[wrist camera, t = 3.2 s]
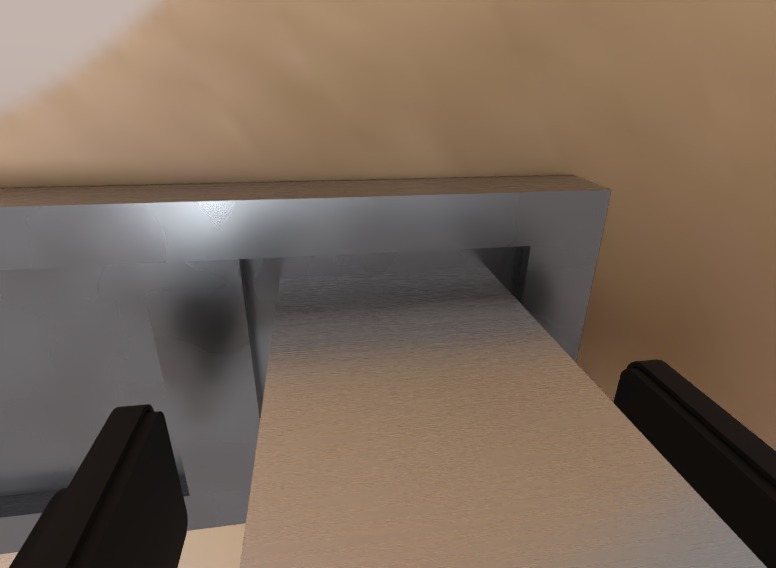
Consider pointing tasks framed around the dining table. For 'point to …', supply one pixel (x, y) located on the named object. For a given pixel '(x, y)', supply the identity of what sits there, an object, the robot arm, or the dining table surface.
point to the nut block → (453, 441)
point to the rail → (232, 304)
